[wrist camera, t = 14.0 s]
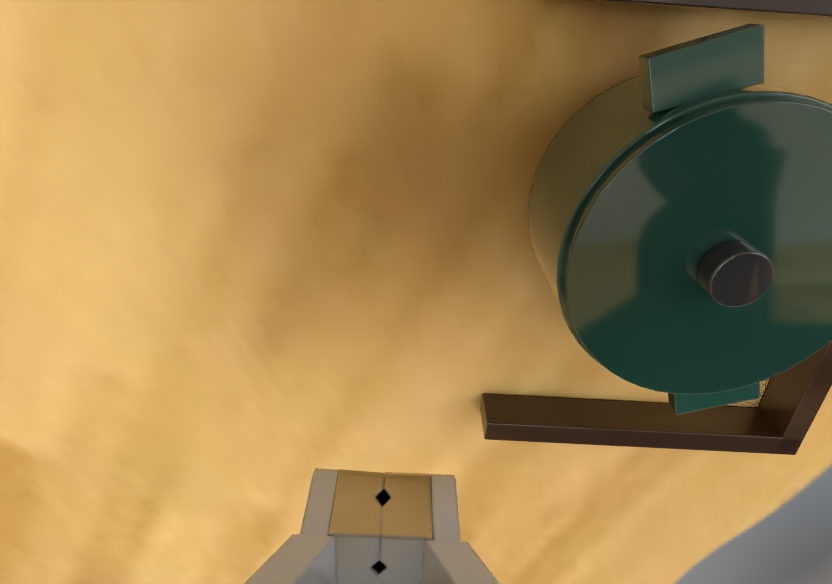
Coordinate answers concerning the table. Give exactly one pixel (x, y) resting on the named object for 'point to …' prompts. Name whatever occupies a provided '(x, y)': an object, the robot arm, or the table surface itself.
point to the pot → (692, 223)
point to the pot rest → (657, 422)
